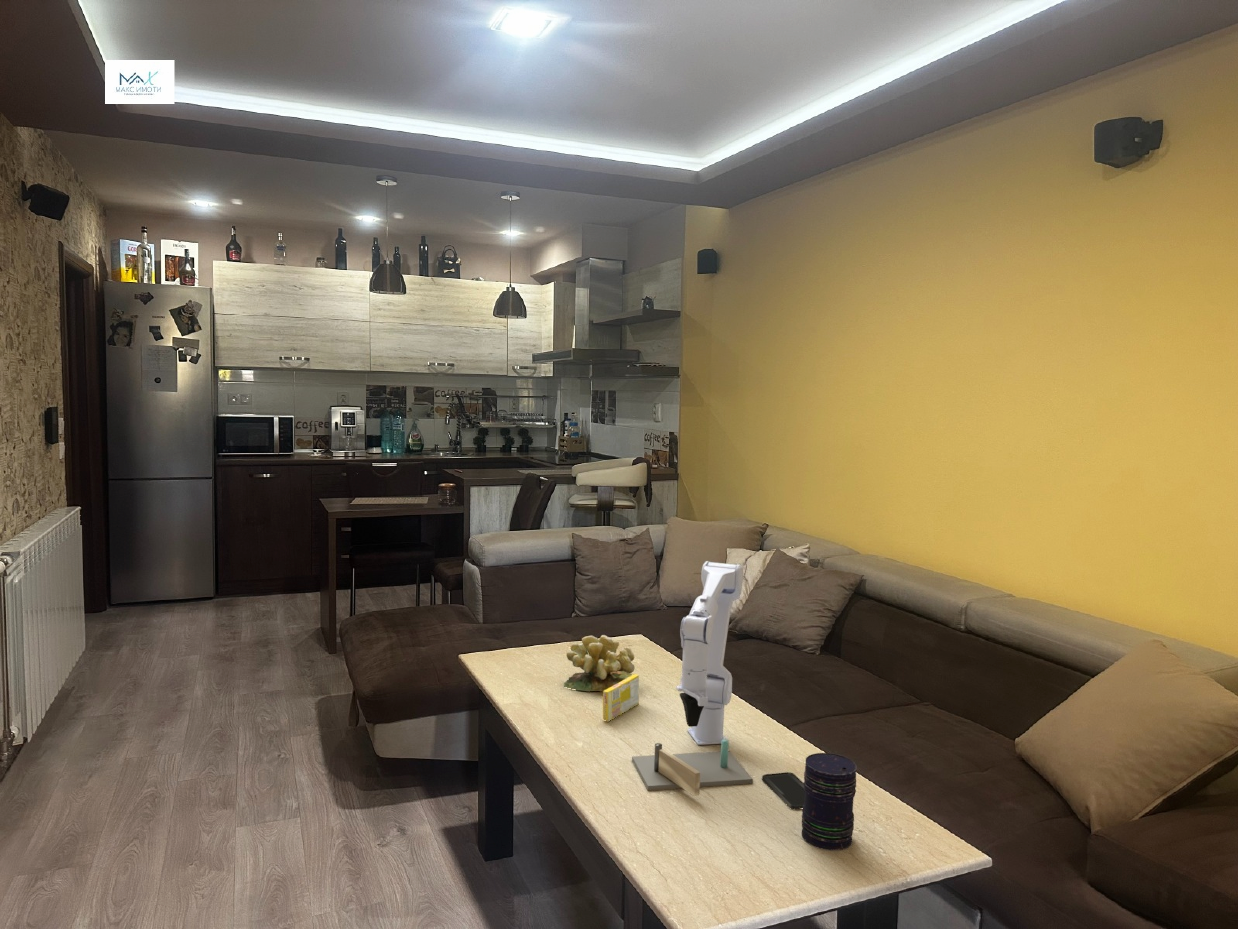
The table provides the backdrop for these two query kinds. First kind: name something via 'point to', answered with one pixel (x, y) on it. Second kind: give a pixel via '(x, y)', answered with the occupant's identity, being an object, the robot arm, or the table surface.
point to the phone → (787, 788)
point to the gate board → (701, 762)
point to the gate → (679, 772)
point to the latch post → (724, 753)
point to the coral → (599, 664)
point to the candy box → (620, 697)
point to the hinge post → (657, 756)
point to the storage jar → (828, 801)
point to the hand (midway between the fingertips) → (692, 725)
